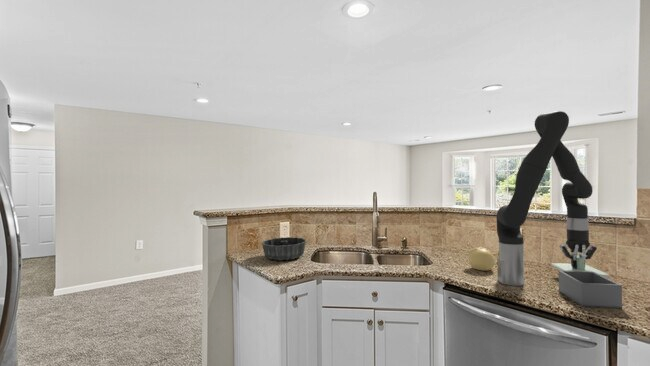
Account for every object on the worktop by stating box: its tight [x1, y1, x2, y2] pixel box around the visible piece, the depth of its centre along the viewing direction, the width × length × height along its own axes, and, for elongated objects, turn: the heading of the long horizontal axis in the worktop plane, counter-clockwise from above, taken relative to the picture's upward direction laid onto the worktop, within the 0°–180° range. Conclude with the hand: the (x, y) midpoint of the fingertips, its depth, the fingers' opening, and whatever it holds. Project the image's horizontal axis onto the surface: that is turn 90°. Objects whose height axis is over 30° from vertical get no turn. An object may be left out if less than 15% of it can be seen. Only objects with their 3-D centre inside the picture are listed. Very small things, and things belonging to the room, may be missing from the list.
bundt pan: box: [261, 236, 307, 261], centre depth 192 cm, size 26×26×10 cm
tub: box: [558, 270, 623, 309], centre depth 119 cm, size 12×16×8 cm
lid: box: [550, 255, 611, 278], centre depth 138 cm, size 13×17×7 cm
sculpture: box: [467, 246, 496, 272], centre depth 160 cm, size 12×12×11 cm
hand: (578, 268), depth 138 cm, fingers closed on lid
